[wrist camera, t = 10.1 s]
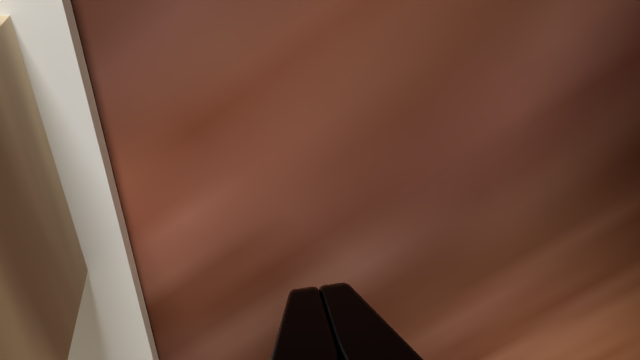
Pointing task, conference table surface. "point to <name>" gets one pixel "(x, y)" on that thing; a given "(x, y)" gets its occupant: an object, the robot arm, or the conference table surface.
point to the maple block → (33, 225)
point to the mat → (84, 183)
